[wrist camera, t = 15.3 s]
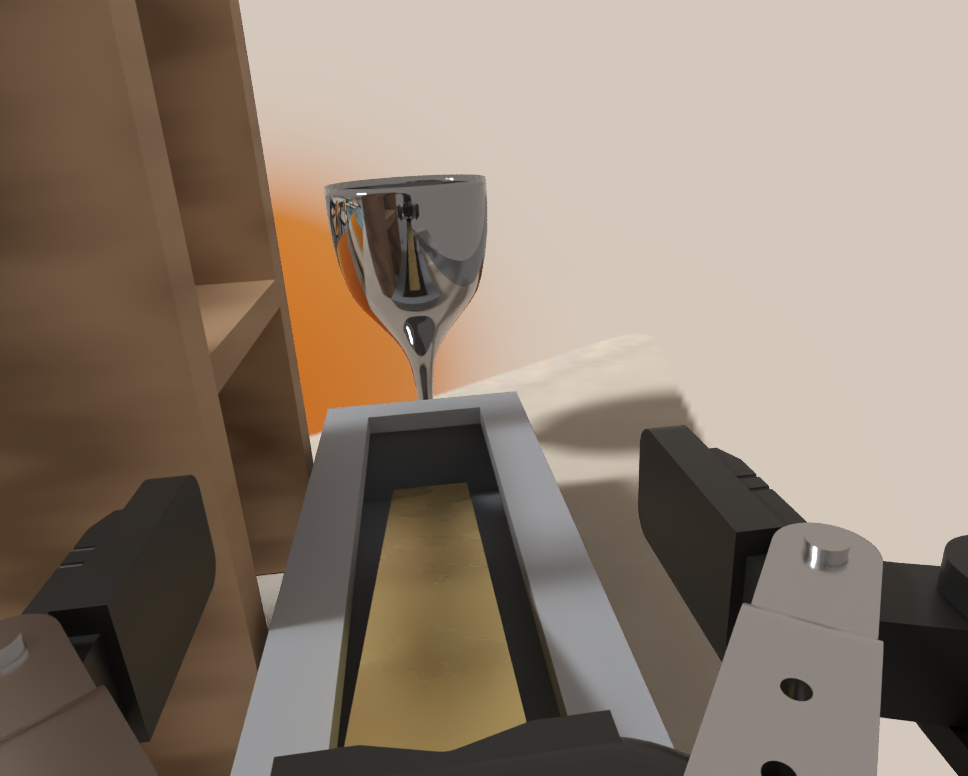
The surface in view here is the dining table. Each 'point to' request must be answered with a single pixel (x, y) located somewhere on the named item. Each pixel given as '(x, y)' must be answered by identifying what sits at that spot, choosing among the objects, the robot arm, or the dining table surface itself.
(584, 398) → the dining table surface
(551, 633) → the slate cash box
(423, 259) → the wine glass
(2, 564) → the walnut stand
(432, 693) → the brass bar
